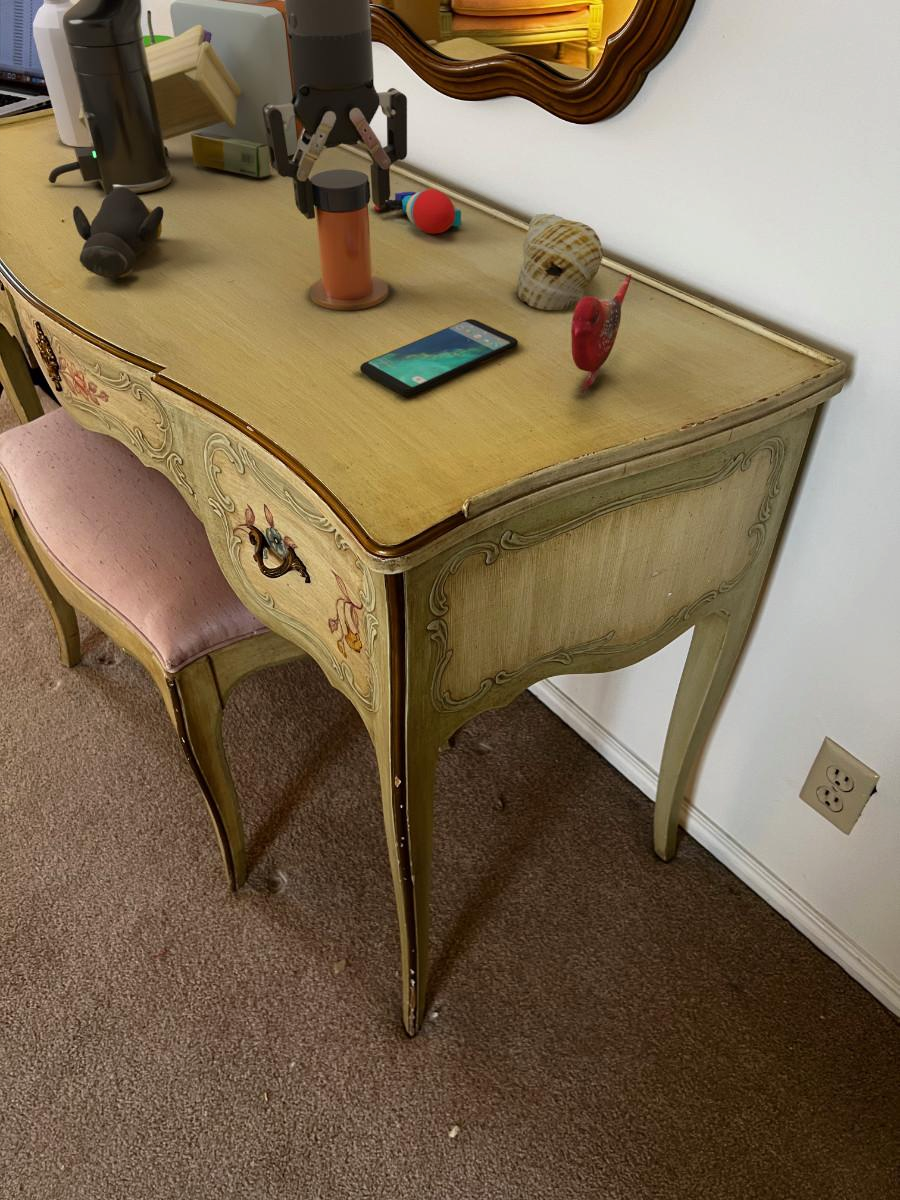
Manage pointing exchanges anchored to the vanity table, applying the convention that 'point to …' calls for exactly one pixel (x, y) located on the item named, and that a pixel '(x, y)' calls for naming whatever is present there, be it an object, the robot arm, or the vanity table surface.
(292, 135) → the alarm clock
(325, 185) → the lid
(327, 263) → the jar
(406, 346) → the smartphone
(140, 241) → the toy
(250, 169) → the medication box
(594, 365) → the decorative bird figurine
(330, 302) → the coaster
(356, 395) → the vanity table surface
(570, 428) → the vanity table surface
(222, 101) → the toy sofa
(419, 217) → the toy figure
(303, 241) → the vanity table surface
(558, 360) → the vanity table surface
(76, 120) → the soap bottle
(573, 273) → the seashell
